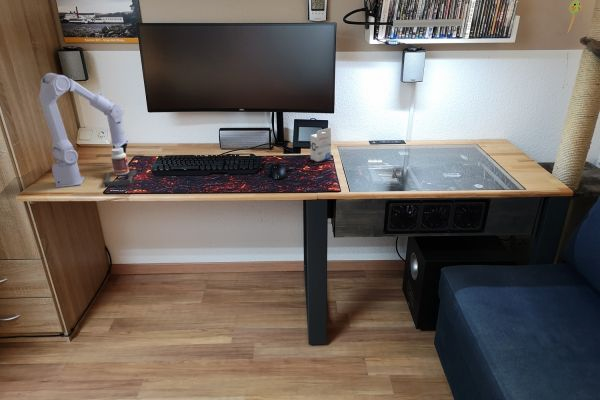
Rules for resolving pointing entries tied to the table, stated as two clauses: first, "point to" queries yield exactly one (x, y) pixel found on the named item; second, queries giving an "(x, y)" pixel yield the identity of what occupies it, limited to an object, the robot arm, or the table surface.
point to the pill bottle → (119, 161)
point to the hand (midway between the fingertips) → (123, 160)
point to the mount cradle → (118, 182)
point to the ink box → (321, 145)
